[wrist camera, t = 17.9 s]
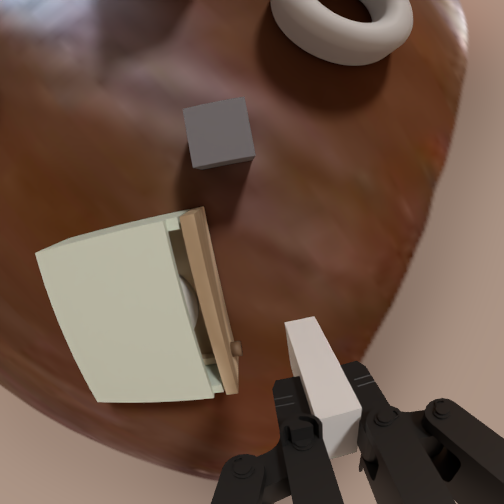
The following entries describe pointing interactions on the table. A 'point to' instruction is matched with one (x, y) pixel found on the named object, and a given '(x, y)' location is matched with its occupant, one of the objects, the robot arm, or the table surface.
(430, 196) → the table surface
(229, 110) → the block
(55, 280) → the drawer cabinet
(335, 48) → the donut shape
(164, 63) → the table surface
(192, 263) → the wooden drawer
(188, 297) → the white smooth rounded piece
